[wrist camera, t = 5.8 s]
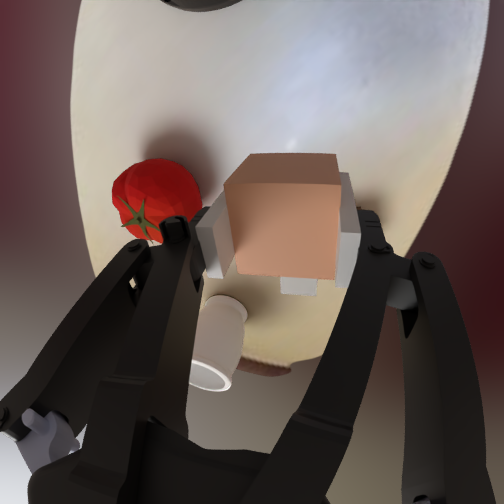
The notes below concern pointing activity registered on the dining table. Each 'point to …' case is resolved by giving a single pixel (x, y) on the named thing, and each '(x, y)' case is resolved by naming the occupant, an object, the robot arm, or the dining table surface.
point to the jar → (217, 343)
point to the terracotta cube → (285, 214)
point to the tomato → (154, 196)
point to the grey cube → (298, 286)
